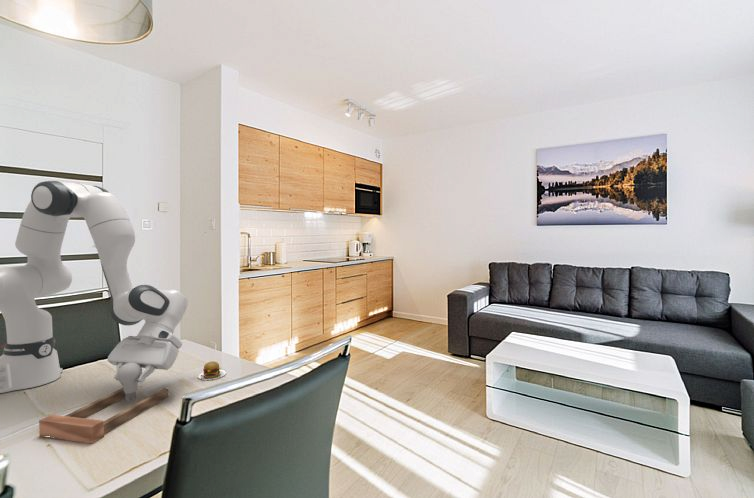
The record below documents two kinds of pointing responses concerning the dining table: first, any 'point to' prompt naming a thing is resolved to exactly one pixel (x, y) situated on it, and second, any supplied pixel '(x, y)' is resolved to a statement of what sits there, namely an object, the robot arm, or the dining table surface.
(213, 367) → the hamburger
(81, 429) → the guide track
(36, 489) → the dining table surface
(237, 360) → the dining table surface
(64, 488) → the dining table surface
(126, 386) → the lightbulb
